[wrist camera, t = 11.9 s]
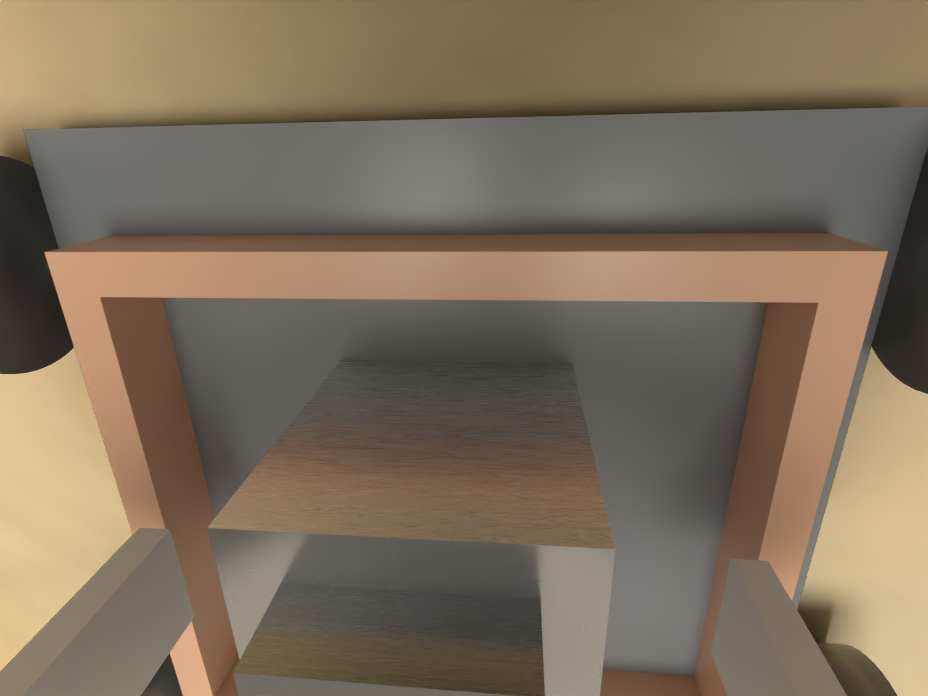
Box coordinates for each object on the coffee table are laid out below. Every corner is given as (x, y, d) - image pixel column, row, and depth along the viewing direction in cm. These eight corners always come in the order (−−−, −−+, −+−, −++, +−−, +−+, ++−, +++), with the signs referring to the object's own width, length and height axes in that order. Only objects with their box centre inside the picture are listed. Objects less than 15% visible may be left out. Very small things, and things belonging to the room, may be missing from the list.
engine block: (340, 359, 14) (141, 610, 7) (572, 363, 13) (637, 645, 6) (367, 591, 17) (250, 943, 10) (558, 602, 16) (590, 987, 9)
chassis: (-8, 131, 14) (-271, 129, 9) (998, 106, 12) (1318, 86, 7) (166, 672, 21) (68, 821, 17) (801, 723, 19) (892, 913, 14)
